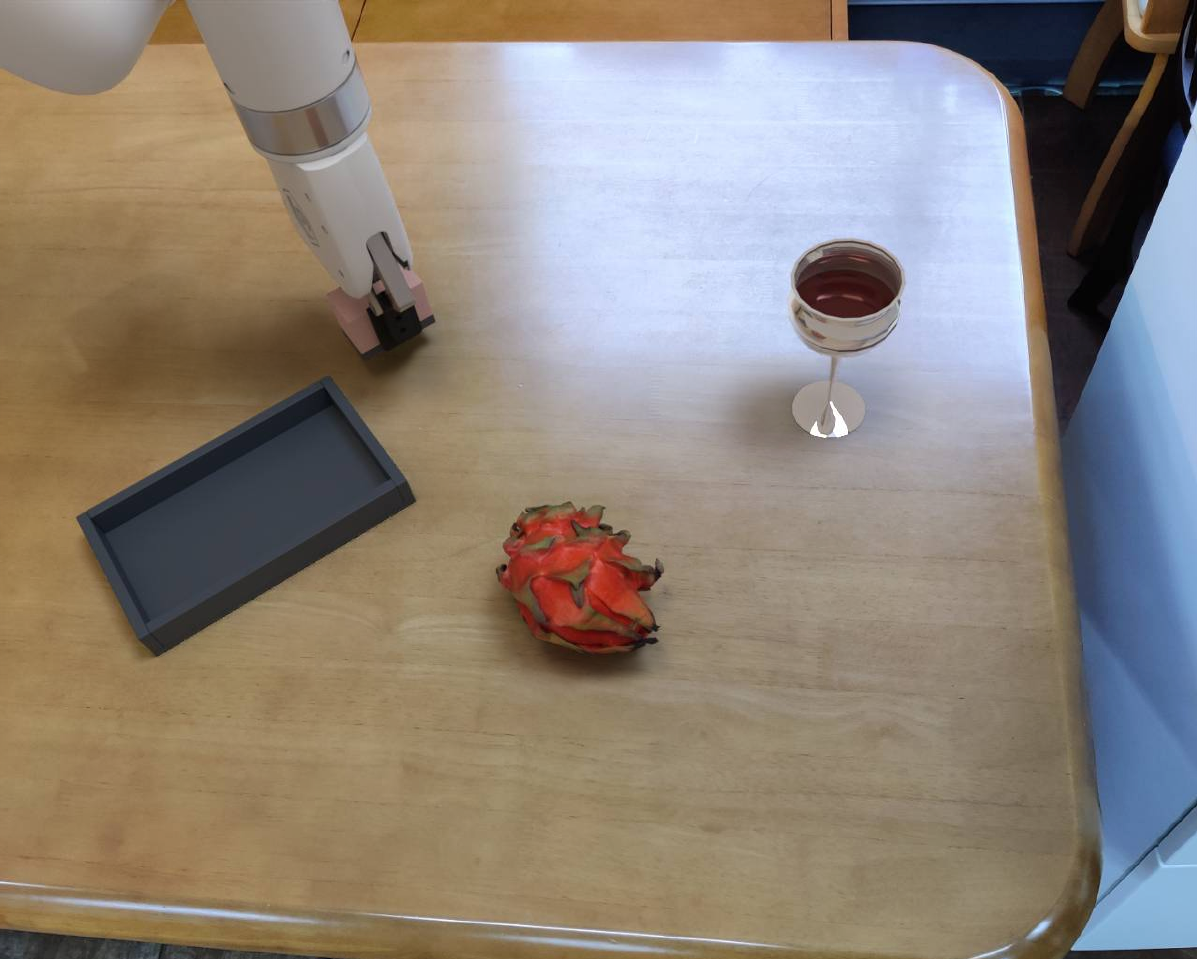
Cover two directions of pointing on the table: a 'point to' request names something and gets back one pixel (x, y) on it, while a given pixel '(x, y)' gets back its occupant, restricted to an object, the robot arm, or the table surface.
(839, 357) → the wineglass
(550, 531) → the dragon fruit
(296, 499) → the tray
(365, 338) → the eraser
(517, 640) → the table surface
